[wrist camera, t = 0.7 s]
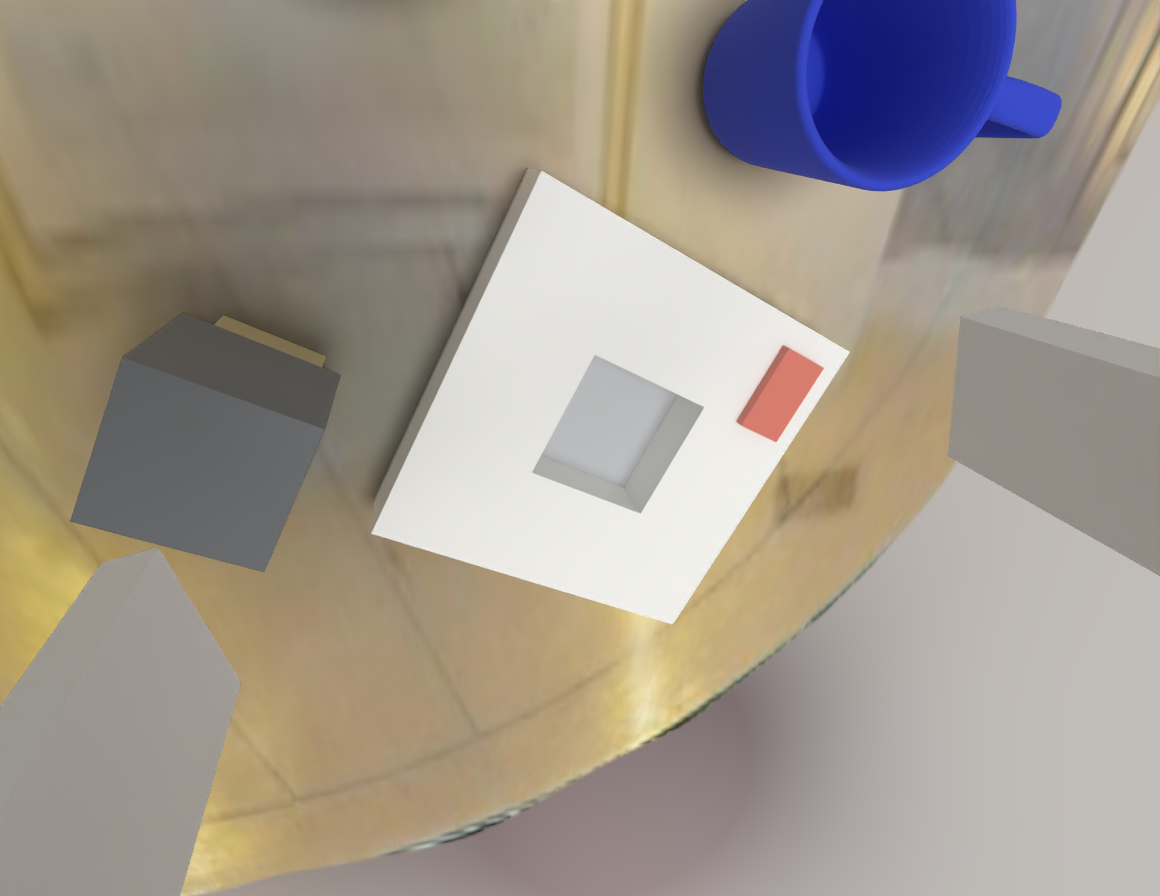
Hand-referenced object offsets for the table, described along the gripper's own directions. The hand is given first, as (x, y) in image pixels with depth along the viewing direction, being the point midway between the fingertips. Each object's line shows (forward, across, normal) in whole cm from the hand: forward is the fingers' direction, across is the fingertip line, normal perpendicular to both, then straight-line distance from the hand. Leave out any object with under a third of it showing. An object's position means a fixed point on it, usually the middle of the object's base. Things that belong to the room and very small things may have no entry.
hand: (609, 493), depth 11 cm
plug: (+22, -11, -3) cm, 25 cm away
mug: (+22, +17, +4) cm, 28 cm away
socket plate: (+22, +5, -9) cm, 25 cm away
